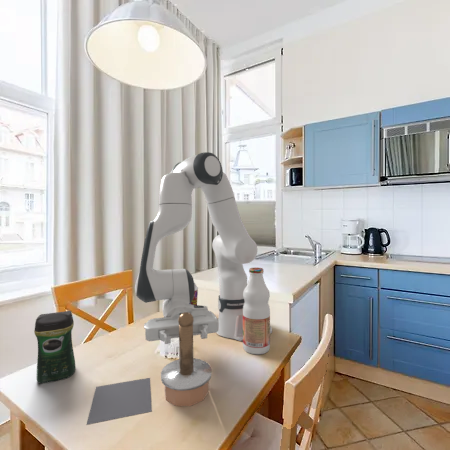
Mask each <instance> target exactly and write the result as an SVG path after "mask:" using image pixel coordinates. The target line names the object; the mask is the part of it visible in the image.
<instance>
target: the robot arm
mask: <svg viewBox="0 0 450 450" xmlns="http://www.w3.org/2000/svg"><path fill="white" fill-rule="evenodd" d="M159 186H160V187H159V193H158V210H157V213H156V215H155V218H154V219H152V220H151V221H149V223H148V226H147V230H146V233H145V238H144V243H143V249H142V254H141V258H140V259H141V260H140V267H139V271H138V273H137V276H136V277H137V278H136V280H135V283H134V284H135V285H134V291H135V296H136V297H137V298H138V300H140V301H141V302H144V303H152V302H157V301H163V302H162V315H163V317H155V318H151V319H148V320H147V322H145V323H144V324H143V328H144V329H145V331H144V332H145V334H144V335H145V340H146V341H148V342H155V341H161V342H164V344H165V345H169V344H171V342H172V339H177V338H178V339H179V323H178V318H179V316H180V315H181V314H182V313H184V312H189V313H191V314H192V316H193V318H194V322H193V337H194V336H199V335H200V338H201V339H203V340H205V339H208V334H215V333H216V334H217V335H219V336H220V337H223V338H225V339H227V338H228V339H233V340H235V341H239V342H241V341H242V342H243V305H244V303H245V301H244V297H243V291H244V289H245V287H246V286H247V284H248V276H247V273H246V271H245V268H244V265H243V264H250V263H252V262H253V261H254V260H255V259H256V257H257V255H258V245H257V242H256V241H255V240H254V239H253V238H252V237H251V236H250V234H249V232H248V230H247V228H246V226H245V224H244V222H243V221H242V220H243V219H242V218H241V216H240V213H239V209H238V204H237V201H236V198H235V194H234V190H233V187H232V184H231V182H230V180H229V178H228V176H227V174H226V173H225V172H223V167H222V163H221V161H220V159H219V158H218V156H216V154H214V153H213V152H200V153H198V154H195V155H192V156H189V157H187V158H186V159H183V160H182V161H179V162H177V163H175V165H174V166H173V168H172V169H171V170H170V172H168V173H166V174H164V176H163V177H162V178H161V181H160V185H159ZM199 188H200V189H201V190H202V192H203V195H204V199H205V202H206V206H207V207H206V208H207V211H208V213H209V217H210V221H211V224H212V226H213V227H214V228H215V230H216V231H217V233H218V235H216V236H215V237H214V238H213V240H212V243H211V245H212V251H213V252H214V255H215V261H216V265H217V271H218V279H219V295H218V300H217V308H218V317H217V316H216V314H214V312H212V311H211V310H209V307H208V306H207V305H198V304H197V305H191V304H189V303H191V301H192V300H193V298H194V293H195V286H194V283H195V280H194V277H193V275H192V273H191V272H190V271H189V270H188V269H186V268H170V269H154V267H153V266H154V261H155V256H156V250H157V246H158V244H159V242H160V241H161V240H163V239H164V238H166V237H169V236H171V235H174V234H176V233H179V232H180V231H183V230H184V229H185V228H187V227H188V225H189V224H190V223H191V221H192V215H193V198H192V197H193V196H192V195H193V191H194V190H195V189H199ZM272 333H273V328H272V326H271V325H270V334H272ZM201 339H200V340H201Z"/></svg>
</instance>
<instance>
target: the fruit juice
mask: <svg viewBox="0 0 450 450" xmlns="http://www.w3.org/2000/svg"><path fill="white" fill-rule="evenodd" d="M248 272H249V278H248V280H247V286H246V287H245V289H244V291H243V297H244V301H245V303H244V305H243V341H242V348H243V350H244V351H245V352H246V353H248V354H252V355H264V354H266V353H268V352H269V351H270V348H271V333H270V326H271V308H270V304H269V301H270V290H269V289H268V287H267V285H266V281H265V279H264V276H263V275H264V268H263V267H250V268H248Z"/></svg>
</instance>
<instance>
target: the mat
mask: <svg viewBox="0 0 450 450" xmlns="http://www.w3.org/2000/svg"><path fill="white" fill-rule="evenodd" d="M94 389H95V390H94V395H93V398H92V402H91V405H90V409H89V413H88V417H87V421H86V426H87V425H92V424H96V423H97V424H98V423H101V422H107V421H112V420H117V419H122V418H128V417H132V416H136V415H142V414H146V413H147V414H148V413H151V412H153V409H152V391H151V389H152V388H151V377H145V378H141V379H134V380H129V381H122V382H117V383H111V384H103V385H99V386H95V388H94Z"/></svg>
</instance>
